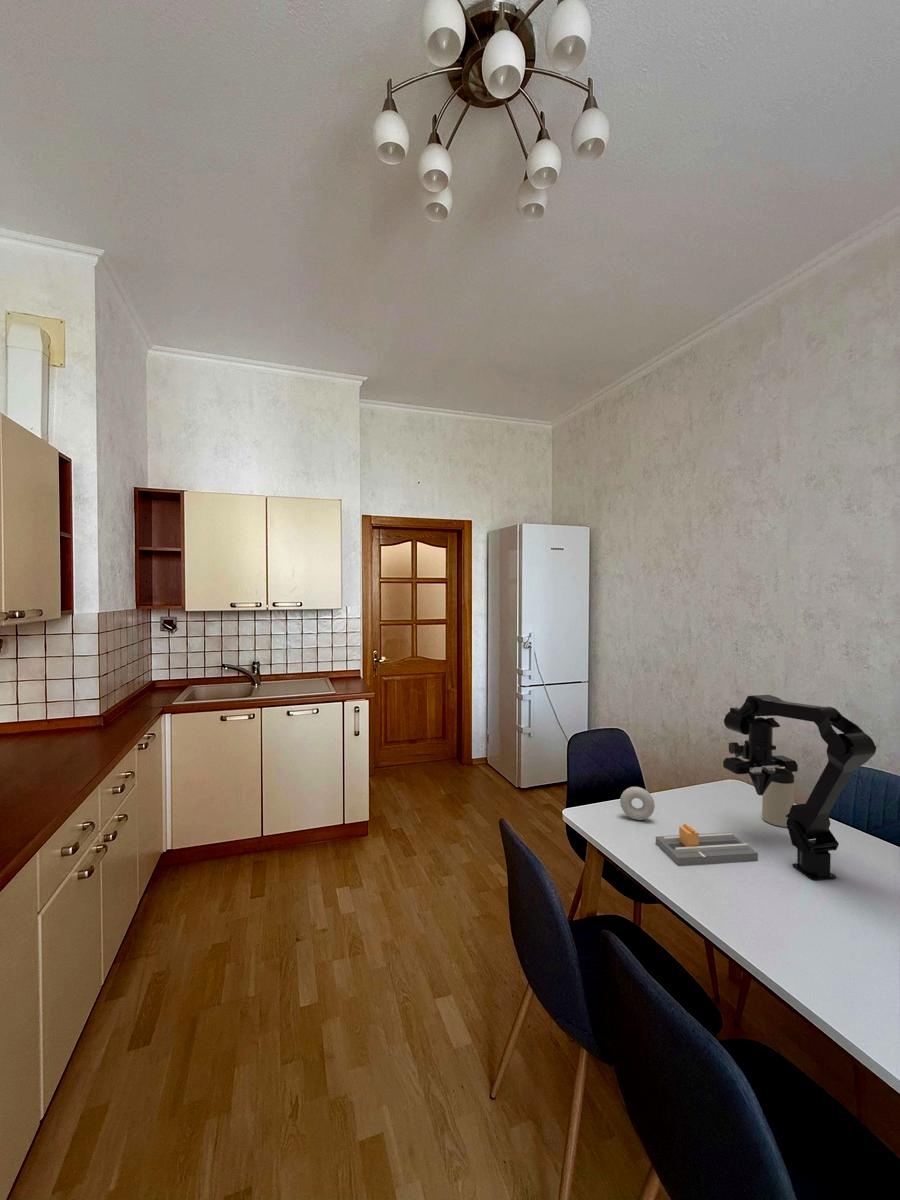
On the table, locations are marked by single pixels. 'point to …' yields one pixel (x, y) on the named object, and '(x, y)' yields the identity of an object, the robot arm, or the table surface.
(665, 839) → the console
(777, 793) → the travel mug
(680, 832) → the fader cap
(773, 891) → the table surface
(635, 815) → the donut
